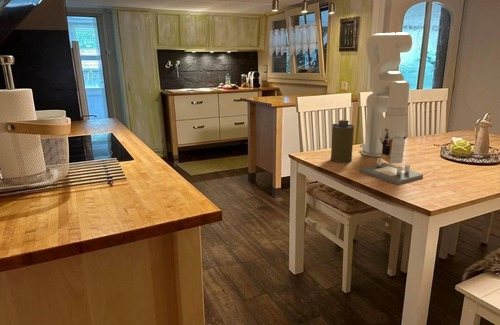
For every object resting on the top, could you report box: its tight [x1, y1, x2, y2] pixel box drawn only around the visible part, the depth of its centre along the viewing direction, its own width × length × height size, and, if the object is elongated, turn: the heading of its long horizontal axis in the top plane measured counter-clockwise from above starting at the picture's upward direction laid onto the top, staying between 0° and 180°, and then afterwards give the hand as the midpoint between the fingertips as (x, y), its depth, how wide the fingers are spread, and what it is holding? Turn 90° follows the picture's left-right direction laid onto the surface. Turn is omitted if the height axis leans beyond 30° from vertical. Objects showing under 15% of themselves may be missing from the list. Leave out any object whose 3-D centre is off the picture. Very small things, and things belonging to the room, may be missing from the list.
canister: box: [330, 119, 355, 164], centre depth 166 cm, size 11×10×20 cm
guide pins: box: [376, 157, 411, 177], centre depth 146 cm, size 14×7×4 cm, turn 29°
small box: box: [380, 138, 406, 165], centre depth 143 cm, size 8×6×10 cm
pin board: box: [358, 162, 424, 186], centre depth 146 cm, size 20×16×2 cm
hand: (392, 153), depth 144 cm, fingers closed on small box, 7 cm apart
